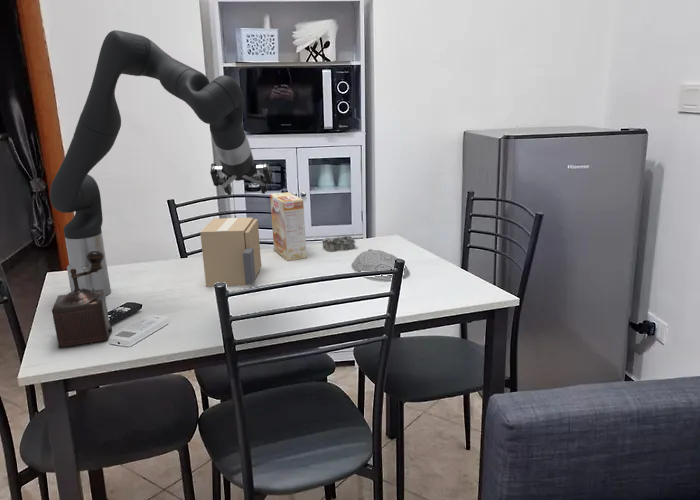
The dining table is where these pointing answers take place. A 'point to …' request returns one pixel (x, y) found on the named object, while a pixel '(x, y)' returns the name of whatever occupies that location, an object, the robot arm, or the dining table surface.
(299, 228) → the coffeecake box
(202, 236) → the carton
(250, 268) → the carton flap
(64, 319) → the manual coffee grinder
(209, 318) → the dining table surface
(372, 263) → the grey oval domed piece
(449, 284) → the dining table surface
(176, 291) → the dining table surface
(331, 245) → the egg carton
